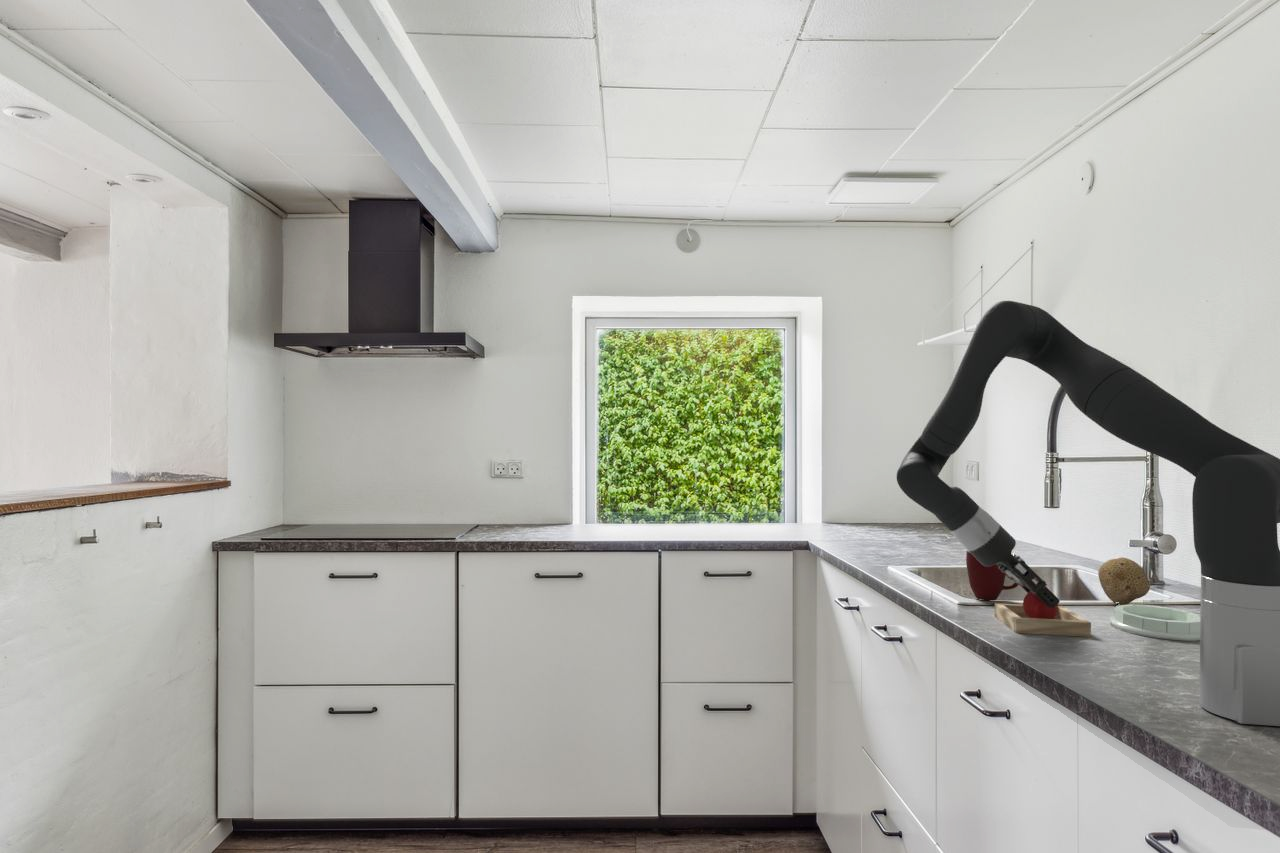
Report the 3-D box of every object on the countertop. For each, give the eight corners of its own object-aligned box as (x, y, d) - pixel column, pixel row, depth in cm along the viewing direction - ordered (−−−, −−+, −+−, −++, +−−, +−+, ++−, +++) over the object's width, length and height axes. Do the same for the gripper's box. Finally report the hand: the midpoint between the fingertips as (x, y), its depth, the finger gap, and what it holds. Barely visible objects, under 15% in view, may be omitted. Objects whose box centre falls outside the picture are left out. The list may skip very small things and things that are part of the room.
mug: (1018, 598, 164) (1019, 552, 164) (1021, 605, 156) (1021, 557, 156) (965, 593, 168) (966, 548, 168) (965, 600, 161) (966, 553, 161)
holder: (1090, 636, 133) (1090, 622, 133) (1015, 632, 135) (1016, 618, 135) (1062, 619, 145) (1062, 606, 145) (994, 615, 147) (994, 603, 147)
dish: (1228, 642, 130) (1228, 625, 130) (1133, 638, 133) (1134, 620, 133) (1180, 621, 145) (1180, 605, 145) (1096, 617, 147) (1096, 601, 147)
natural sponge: (1140, 602, 161) (1141, 555, 161) (1156, 612, 153) (1157, 562, 153) (1092, 599, 164) (1093, 553, 164) (1106, 608, 155) (1106, 560, 155)
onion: (1062, 631, 137) (1063, 586, 137) (1028, 628, 138) (1028, 585, 138) (1051, 623, 142) (1052, 580, 142) (1018, 621, 144) (1019, 579, 144)
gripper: (1009, 527, 134) (1078, 594, 133) (985, 517, 148) (1047, 578, 147) (977, 555, 135) (1045, 623, 133) (957, 543, 149) (1018, 604, 147)
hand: (1046, 599), depth 140 cm, fingers open, 8 cm apart
